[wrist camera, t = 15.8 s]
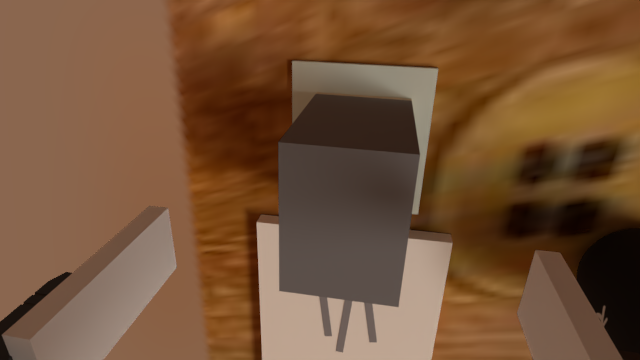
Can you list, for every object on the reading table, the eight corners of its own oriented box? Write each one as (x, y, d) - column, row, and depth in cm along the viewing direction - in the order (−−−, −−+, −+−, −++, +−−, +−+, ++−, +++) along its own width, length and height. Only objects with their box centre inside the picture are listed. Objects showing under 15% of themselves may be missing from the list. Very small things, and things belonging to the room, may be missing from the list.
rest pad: (293, 60, 27) (292, 60, 27) (437, 67, 26) (438, 68, 25) (293, 199, 31) (292, 201, 31) (417, 211, 30) (417, 214, 30)
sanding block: (316, 91, 27) (278, 142, 18) (411, 98, 26) (420, 154, 17) (313, 202, 30) (279, 291, 21) (397, 211, 30) (398, 307, 21)
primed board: (261, 214, 32) (256, 222, 31) (450, 234, 30) (452, 243, 29) (268, 412, 41) (264, 423, 40) (414, 436, 39) (414, 449, 38)
